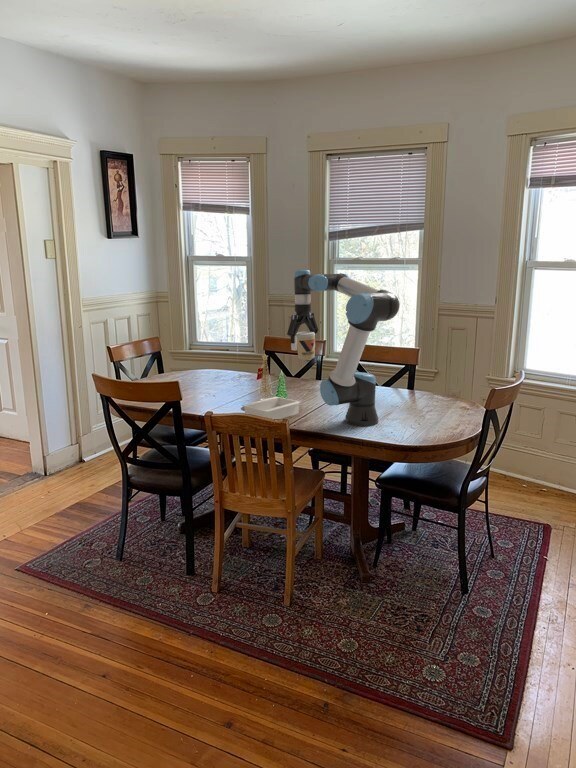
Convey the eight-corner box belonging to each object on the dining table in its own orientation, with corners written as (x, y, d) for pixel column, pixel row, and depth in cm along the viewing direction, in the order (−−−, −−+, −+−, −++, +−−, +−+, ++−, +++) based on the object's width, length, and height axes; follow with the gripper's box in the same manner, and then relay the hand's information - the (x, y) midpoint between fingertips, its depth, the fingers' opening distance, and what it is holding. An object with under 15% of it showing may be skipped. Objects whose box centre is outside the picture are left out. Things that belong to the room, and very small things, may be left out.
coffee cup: (300, 360, 270) (298, 335, 267) (294, 357, 279) (292, 332, 276) (318, 358, 273) (317, 333, 270) (312, 354, 281) (311, 330, 278)
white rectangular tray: (276, 408, 285) (276, 396, 284) (301, 414, 274) (301, 402, 272) (242, 417, 269) (241, 405, 267) (267, 424, 257) (267, 411, 256)
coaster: (267, 409, 284) (267, 407, 283) (251, 413, 276) (251, 412, 276) (252, 405, 291) (252, 404, 291) (236, 409, 283) (236, 408, 283)
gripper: (313, 301, 280) (313, 345, 285) (278, 304, 262) (279, 351, 266) (325, 302, 275) (325, 346, 280) (291, 305, 257) (292, 352, 261)
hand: (303, 348), depth 273 cm, fingers open, 13 cm apart
